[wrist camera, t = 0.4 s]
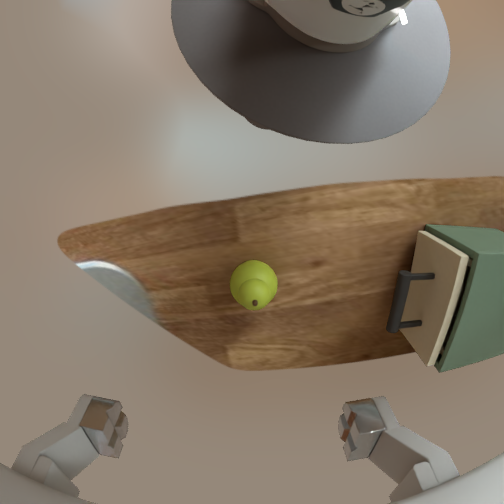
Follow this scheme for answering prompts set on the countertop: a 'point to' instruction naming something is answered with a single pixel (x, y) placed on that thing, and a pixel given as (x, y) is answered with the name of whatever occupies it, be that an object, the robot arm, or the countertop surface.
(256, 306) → the pear
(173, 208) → the countertop surface
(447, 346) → the cabinet
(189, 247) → the countertop surface
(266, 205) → the countertop surface
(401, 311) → the drawer
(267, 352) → the countertop surface
